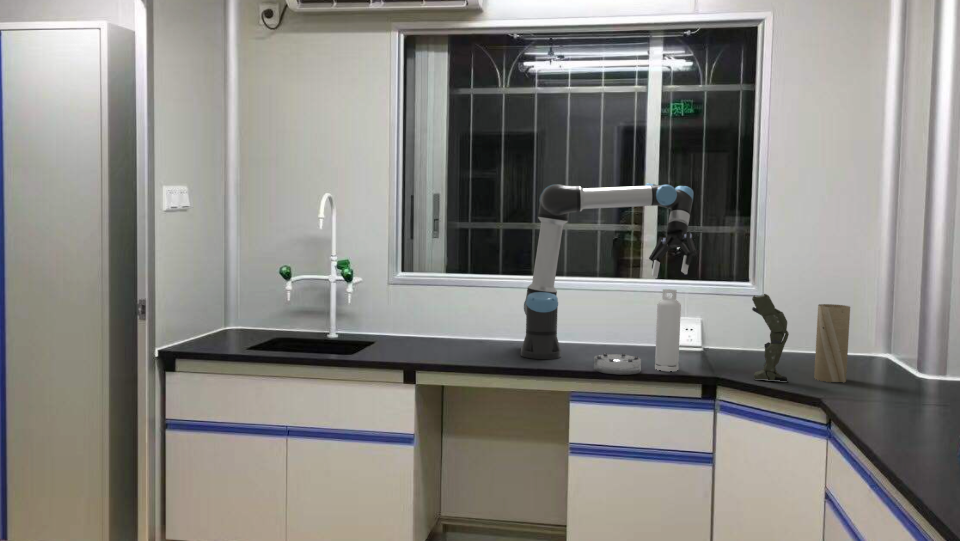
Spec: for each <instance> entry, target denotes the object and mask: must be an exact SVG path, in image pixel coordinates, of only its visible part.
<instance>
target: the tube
mask: <svg viewBox="0 0 960 541" xmlns="http://www.w3.org/2000/svg"><path fill="white" fill-rule="evenodd" d="M816 317H817V320H816V336H815V337H816V338H815V339H816V340H815V354H814V355H815V359H814V373H813V374H814V377H813V379H814V378H815V379H814V380H816V379H817V380H816V381H819V380H820V381H819V382H823V381H826V383H831V382H843V383H846V382H847V372H848V371H847V370H848V368H847V367H848V351H849V339H850V338H849V336H850V319H851V318H850V317H851V306H850V305H845V304H844V305H843V304H832V303H831V304H830V303H821V304H818V305H817V316H816Z"/></svg>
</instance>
